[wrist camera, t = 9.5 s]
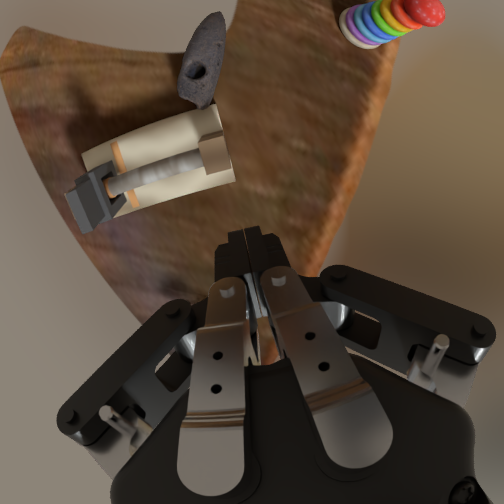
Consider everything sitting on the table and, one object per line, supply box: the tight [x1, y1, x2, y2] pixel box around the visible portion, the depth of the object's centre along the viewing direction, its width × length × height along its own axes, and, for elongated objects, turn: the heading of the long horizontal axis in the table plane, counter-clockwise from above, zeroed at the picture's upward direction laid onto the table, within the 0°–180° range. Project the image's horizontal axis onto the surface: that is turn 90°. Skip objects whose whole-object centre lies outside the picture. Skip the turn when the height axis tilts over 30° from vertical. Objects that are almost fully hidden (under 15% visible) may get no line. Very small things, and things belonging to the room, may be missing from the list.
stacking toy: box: [339, 0, 445, 49], centre depth 21 cm, size 8×8×19 cm
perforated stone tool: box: [177, 11, 226, 110], centre depth 28 cm, size 15×5×7 cm, turn 165°
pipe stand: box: [64, 104, 236, 220], centre depth 33 cm, size 12×22×10 cm, turn 102°
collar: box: [65, 160, 127, 234], centre depth 29 cm, size 6×3×10 cm, turn 12°
